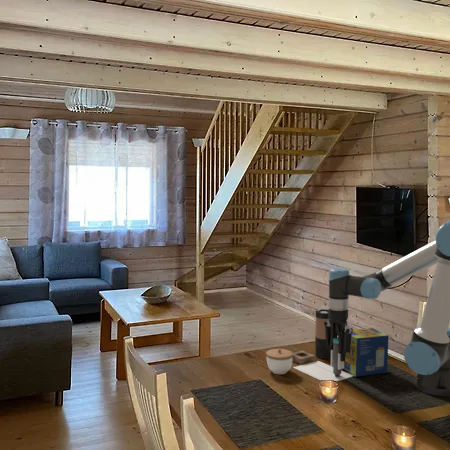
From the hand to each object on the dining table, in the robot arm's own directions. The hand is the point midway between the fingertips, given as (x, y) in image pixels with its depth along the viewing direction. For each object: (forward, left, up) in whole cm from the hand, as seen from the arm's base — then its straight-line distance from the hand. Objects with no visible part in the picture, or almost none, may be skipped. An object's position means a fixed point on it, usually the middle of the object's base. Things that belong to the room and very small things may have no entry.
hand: (337, 367), depth 192 cm
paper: (+7, +1, -4) cm, 8 cm away
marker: (0, 0, -4) cm, 4 cm away
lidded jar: (+17, +16, -4) cm, 23 cm away
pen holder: (+22, -1, -4) cm, 22 cm away
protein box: (-1, -14, -4) cm, 14 cm away
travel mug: (+21, -13, -4) cm, 25 cm away
